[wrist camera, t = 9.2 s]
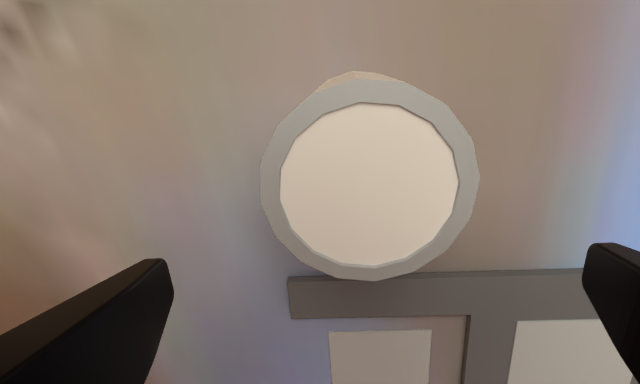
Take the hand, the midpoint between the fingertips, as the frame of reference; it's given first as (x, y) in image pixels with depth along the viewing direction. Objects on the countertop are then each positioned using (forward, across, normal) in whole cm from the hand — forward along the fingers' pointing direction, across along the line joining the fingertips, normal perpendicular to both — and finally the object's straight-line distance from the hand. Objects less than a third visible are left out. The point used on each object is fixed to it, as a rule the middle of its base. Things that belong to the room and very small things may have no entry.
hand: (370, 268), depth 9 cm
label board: (+11, -7, +16) cm, 20 cm away
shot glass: (+11, 0, 0) cm, 11 cm away
